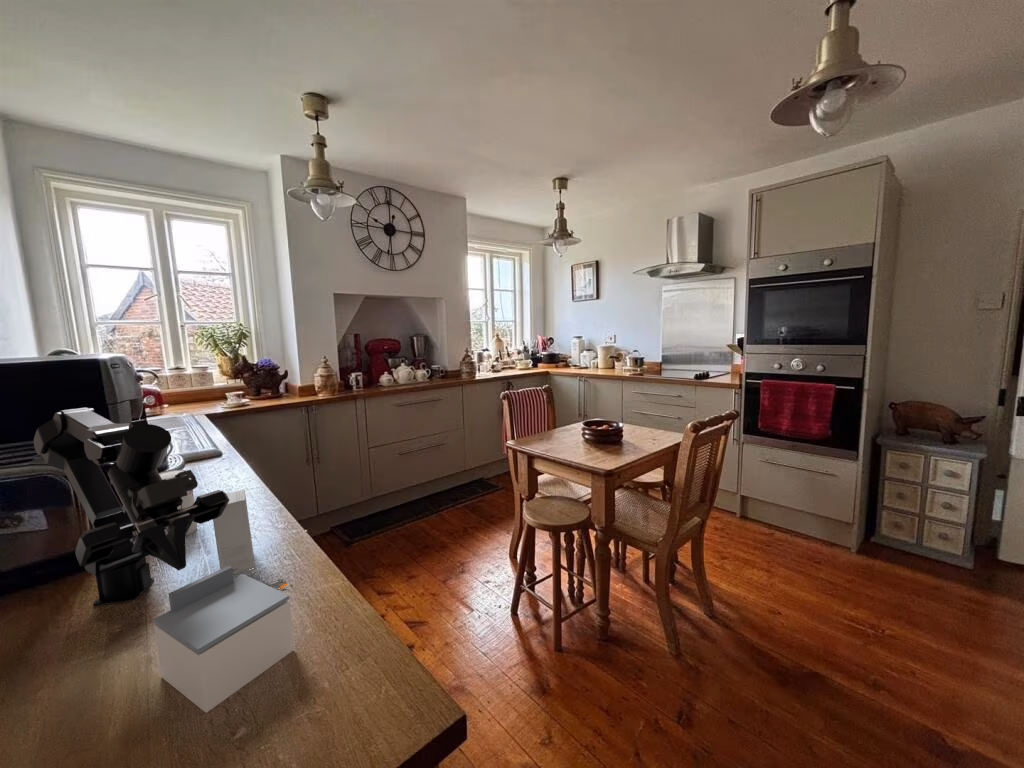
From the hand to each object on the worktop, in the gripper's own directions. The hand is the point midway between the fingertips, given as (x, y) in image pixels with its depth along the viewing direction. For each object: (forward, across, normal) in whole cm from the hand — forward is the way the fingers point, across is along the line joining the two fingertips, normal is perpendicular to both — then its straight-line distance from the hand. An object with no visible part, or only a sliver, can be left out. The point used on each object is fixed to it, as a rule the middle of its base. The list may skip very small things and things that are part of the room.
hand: (182, 568), depth 65 cm
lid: (+10, 0, -6) cm, 12 cm away
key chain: (+9, +13, +9) cm, 18 cm away
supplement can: (-23, +16, +39) cm, 48 cm away
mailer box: (+16, 0, 0) cm, 16 cm away
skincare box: (-3, +15, +20) cm, 25 cm away
